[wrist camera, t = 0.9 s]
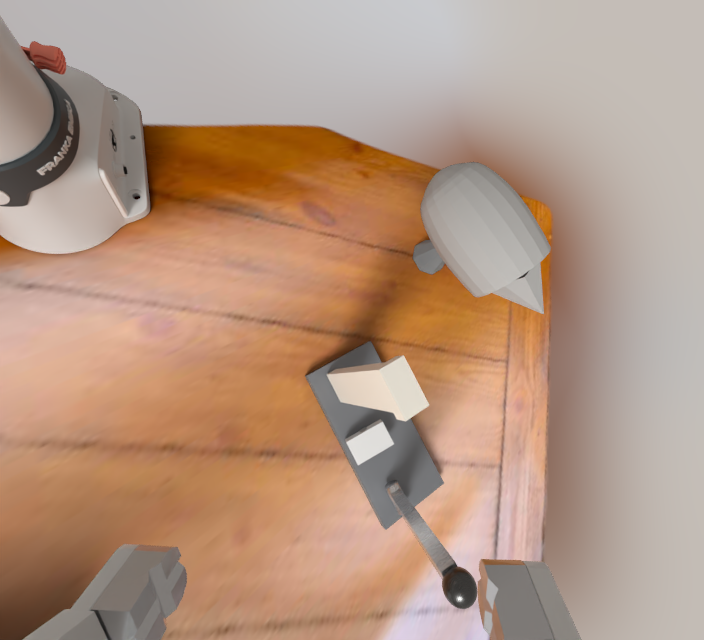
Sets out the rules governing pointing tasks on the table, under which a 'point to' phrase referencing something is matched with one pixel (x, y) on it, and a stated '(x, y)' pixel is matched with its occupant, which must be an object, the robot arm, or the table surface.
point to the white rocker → (369, 441)
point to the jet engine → (482, 235)
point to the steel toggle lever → (435, 552)
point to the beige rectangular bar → (381, 387)
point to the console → (391, 464)
